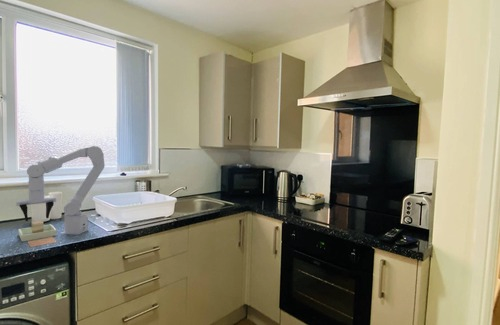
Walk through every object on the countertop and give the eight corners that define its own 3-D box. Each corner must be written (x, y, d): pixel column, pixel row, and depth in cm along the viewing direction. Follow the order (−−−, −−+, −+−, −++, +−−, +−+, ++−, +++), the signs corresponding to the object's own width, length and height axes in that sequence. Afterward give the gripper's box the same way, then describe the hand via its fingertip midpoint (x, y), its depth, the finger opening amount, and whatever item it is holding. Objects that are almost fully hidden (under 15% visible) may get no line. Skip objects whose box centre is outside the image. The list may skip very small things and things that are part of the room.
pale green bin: (56, 236, 128) (56, 229, 128) (21, 242, 119) (21, 235, 119) (51, 230, 137) (51, 224, 137) (18, 235, 128) (18, 229, 128)
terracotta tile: (56, 242, 120) (56, 241, 120) (30, 248, 113) (30, 246, 113) (52, 237, 126) (52, 236, 126) (27, 242, 120) (27, 241, 120)
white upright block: (60, 216, 164) (60, 191, 163) (64, 218, 160) (64, 192, 159) (47, 218, 159) (46, 192, 158) (50, 220, 154) (50, 194, 154)
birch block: (43, 235, 128) (43, 222, 128) (32, 237, 126) (32, 224, 125) (42, 233, 131) (42, 220, 131) (31, 234, 128) (31, 222, 128)
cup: (45, 219, 156) (44, 194, 155) (54, 221, 152) (53, 196, 151) (27, 223, 148) (27, 197, 147) (36, 225, 145) (35, 198, 144)
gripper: (53, 187, 135) (54, 215, 136) (15, 190, 125) (15, 220, 126) (56, 189, 130) (57, 217, 131) (16, 192, 120) (17, 223, 121)
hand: (37, 219), depth 128 cm, fingers open, 7 cm apart
